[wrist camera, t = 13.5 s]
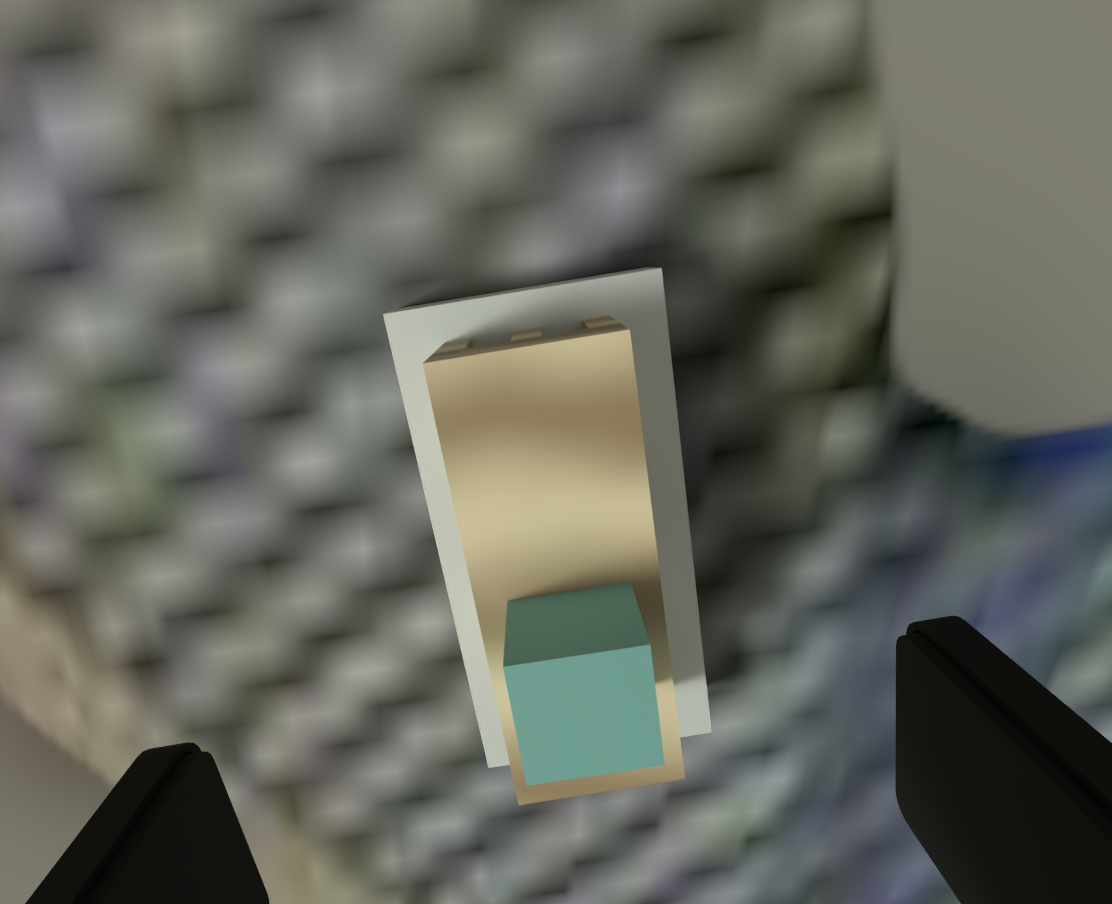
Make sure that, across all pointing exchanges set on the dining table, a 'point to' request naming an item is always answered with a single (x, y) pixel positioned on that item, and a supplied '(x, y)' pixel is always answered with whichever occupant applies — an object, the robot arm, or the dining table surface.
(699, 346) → the dining table surface
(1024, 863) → the robot arm
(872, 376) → the dining table surface
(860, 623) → the dining table surface
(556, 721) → the teal cube
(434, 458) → the dock
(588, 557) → the tan long block
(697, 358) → the dining table surface
